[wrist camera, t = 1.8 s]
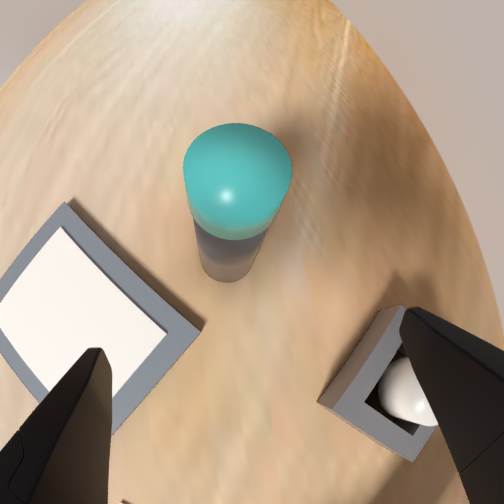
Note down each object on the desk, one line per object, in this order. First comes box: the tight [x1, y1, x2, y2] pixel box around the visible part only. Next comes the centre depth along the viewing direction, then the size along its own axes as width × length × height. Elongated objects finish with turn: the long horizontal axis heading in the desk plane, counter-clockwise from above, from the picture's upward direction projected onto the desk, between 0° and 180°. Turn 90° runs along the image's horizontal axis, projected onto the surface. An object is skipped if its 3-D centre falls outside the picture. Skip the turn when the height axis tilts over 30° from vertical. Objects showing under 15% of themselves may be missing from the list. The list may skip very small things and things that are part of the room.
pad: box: [0, 201, 201, 436], centre depth 19 cm, size 14×12×1 cm
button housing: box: [317, 304, 437, 462], centre depth 19 cm, size 8×8×3 cm
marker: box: [183, 123, 292, 282], centre depth 16 cm, size 4×4×12 cm
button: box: [378, 357, 438, 426], centre depth 16 cm, size 4×4×4 cm
